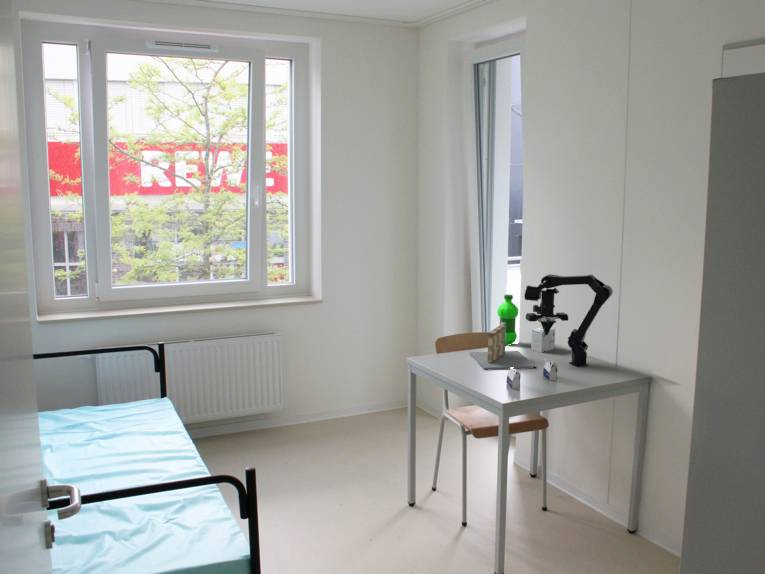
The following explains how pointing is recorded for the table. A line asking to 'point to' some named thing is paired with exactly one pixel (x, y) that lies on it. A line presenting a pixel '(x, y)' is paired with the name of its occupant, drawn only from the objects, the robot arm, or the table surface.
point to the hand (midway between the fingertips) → (546, 335)
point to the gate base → (503, 358)
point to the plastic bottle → (508, 318)
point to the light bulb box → (543, 340)
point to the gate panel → (495, 343)
